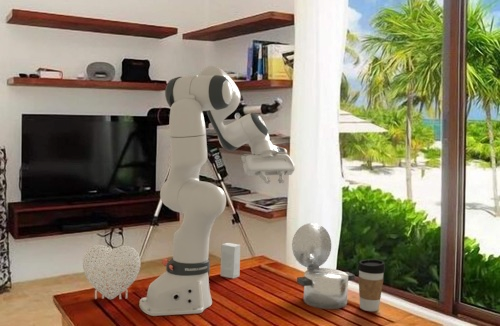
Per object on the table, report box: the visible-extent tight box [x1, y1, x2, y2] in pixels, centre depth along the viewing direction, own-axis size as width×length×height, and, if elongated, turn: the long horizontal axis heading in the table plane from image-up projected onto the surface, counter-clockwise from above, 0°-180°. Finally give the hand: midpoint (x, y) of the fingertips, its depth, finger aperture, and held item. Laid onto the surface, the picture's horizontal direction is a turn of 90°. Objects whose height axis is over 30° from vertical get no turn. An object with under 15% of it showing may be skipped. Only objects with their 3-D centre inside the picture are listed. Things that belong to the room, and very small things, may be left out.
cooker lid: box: [291, 222, 332, 271], centre depth 174 cm, size 15×16×2 cm
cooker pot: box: [296, 267, 356, 310], centre depth 166 cm, size 20×14×9 cm
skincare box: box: [220, 242, 241, 280], centre depth 189 cm, size 6×4×12 cm
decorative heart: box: [82, 244, 142, 300], centre depth 161 cm, size 18×11×17 cm, turn 90°
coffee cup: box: [357, 259, 386, 312], centre depth 161 cm, size 8×8×15 cm
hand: (275, 182), depth 189 cm, fingers open, 4 cm apart
